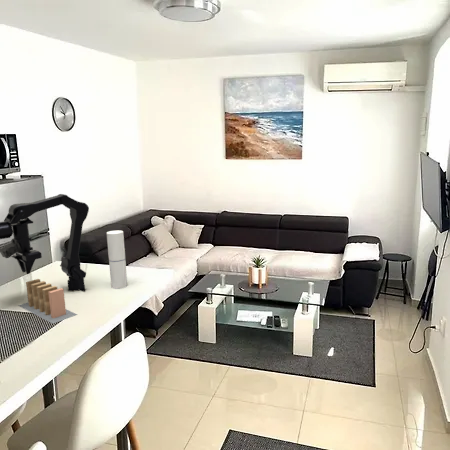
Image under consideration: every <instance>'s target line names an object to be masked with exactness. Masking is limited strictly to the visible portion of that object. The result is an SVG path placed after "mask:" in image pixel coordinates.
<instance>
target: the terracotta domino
mask: <svg viewBox="0 0 450 450" xmlns="http://www.w3.org/2000/svg"><path fill="white" fill-rule="evenodd" d="M48 293H49V302H50V310H51V317H52V318H56V317H59V316H62V315H65V314H66V309H67V308H66V302H65V301H66V300H65V292H64V288H62V287H60V288H57V289H56V290H53V291H50V292H48Z"/></svg>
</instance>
